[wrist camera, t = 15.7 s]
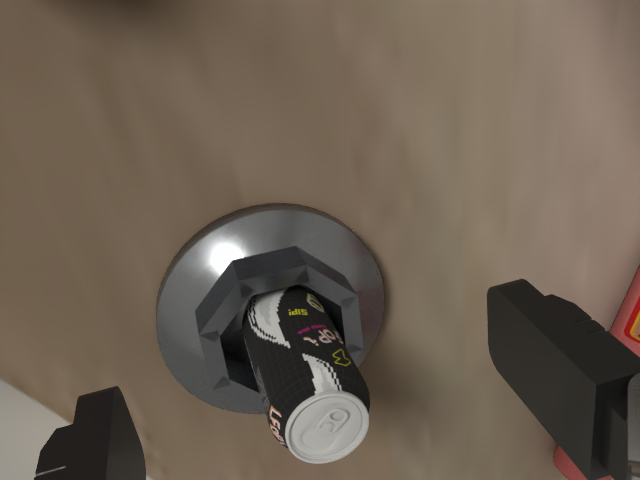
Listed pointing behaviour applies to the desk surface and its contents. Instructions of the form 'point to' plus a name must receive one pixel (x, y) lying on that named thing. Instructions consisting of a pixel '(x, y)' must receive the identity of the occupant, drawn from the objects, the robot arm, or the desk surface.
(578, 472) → the blood vessel
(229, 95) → the desk surface
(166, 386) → the desk surface
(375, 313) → the rosette socket
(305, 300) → the beverage can
